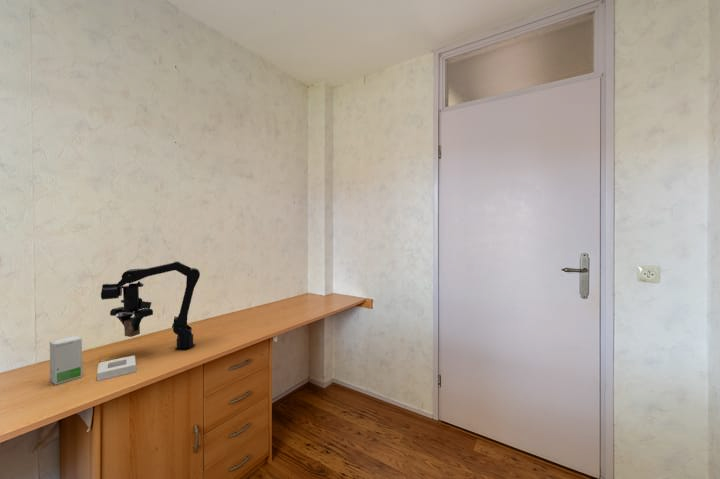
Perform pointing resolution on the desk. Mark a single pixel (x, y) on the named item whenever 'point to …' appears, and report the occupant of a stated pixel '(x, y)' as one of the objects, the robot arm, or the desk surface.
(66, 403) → the desk surface
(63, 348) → the skincare box
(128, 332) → the peg
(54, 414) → the desk surface
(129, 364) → the socket
